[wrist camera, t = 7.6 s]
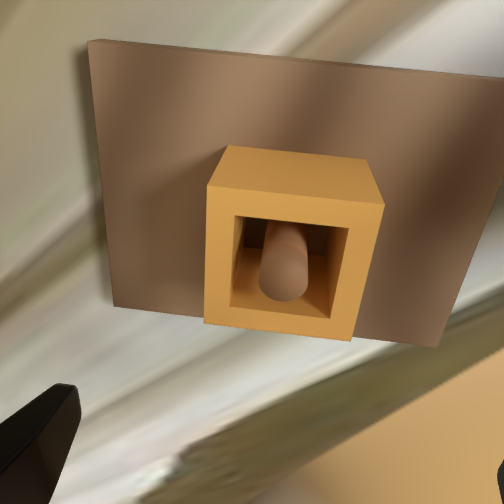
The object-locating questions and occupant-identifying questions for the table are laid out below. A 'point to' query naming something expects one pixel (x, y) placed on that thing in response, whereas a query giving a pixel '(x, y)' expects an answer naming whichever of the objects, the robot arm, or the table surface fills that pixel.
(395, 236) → the peg board
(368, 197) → the orange square block
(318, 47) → the table surface
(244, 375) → the table surface
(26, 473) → the robot arm
